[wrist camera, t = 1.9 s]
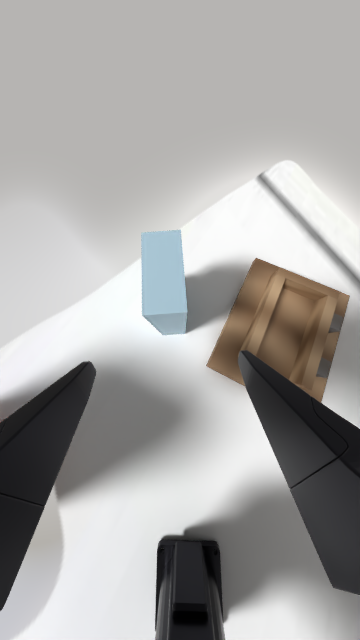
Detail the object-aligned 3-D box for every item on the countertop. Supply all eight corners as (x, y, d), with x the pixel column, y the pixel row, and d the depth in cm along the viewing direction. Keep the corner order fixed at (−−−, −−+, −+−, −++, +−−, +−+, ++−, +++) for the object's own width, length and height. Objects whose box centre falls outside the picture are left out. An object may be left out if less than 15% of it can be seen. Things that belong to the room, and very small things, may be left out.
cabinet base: (308, 419, 18) (332, 431, 15) (206, 366, 20) (210, 368, 17) (342, 298, 22) (367, 289, 19) (253, 261, 23) (263, 248, 20)
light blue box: (185, 333, 21) (187, 312, 10) (163, 335, 21) (142, 315, 10) (181, 281, 23) (179, 217, 12) (160, 283, 23) (141, 220, 12)
